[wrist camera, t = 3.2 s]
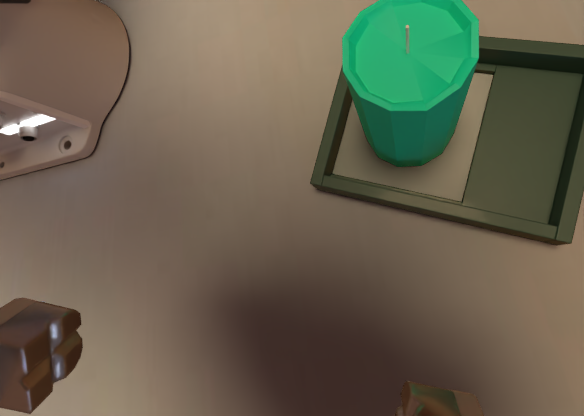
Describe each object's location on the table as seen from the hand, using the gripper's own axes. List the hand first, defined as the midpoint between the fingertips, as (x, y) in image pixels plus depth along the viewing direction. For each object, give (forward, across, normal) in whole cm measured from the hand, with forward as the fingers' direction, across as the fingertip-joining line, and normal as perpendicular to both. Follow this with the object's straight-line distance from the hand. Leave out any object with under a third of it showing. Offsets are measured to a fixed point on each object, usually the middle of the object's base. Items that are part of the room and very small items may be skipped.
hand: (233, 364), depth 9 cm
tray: (+20, -8, -4) cm, 22 cm away
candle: (+21, -6, -4) cm, 22 cm away
